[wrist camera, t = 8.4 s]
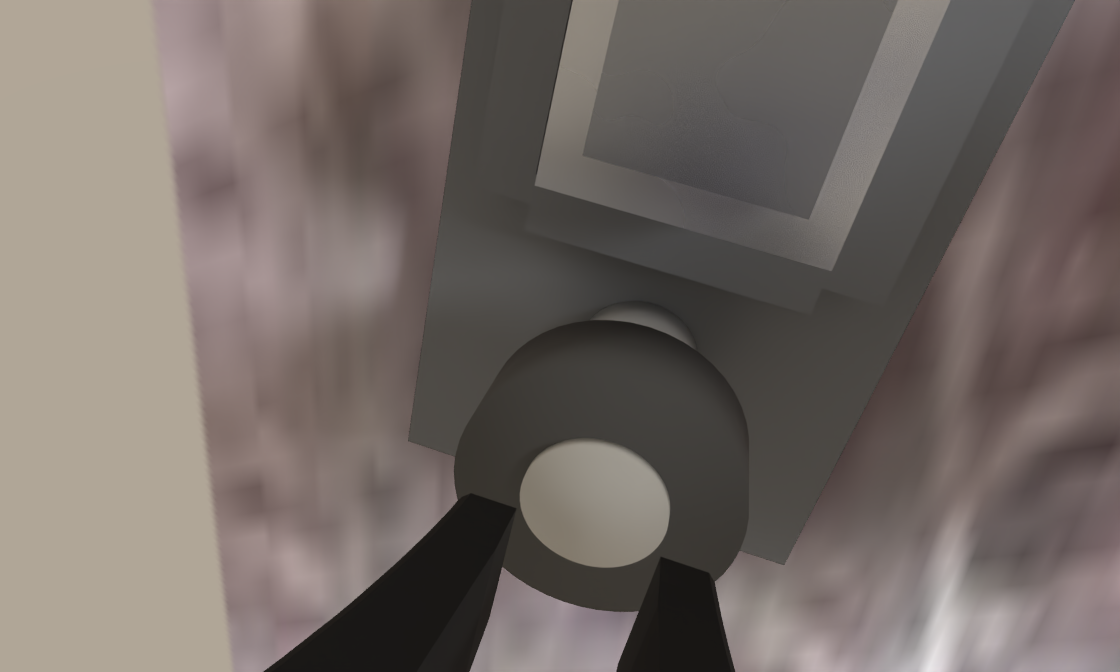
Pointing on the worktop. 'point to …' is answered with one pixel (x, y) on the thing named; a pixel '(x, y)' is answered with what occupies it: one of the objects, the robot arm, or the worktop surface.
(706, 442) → the wheel
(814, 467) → the chassis
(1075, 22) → the worktop surface
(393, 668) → the robot arm
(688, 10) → the grey rectangular block
